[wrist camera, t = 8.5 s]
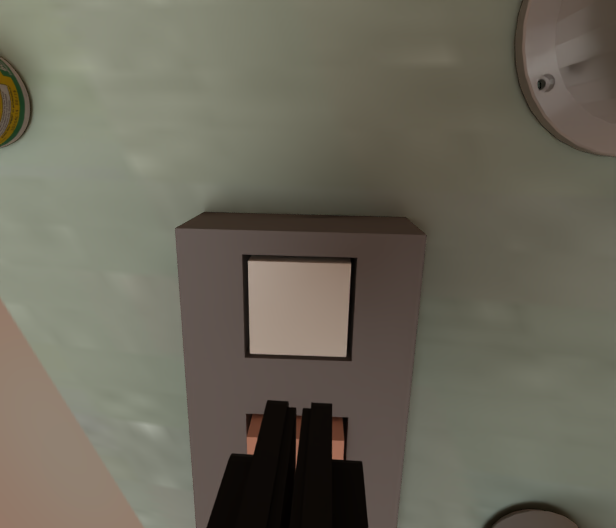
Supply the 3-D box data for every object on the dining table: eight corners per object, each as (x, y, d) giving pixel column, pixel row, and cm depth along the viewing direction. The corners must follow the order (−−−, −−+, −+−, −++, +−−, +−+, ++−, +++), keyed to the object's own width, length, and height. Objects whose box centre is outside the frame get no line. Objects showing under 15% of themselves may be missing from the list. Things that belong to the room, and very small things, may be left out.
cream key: (259, 242, 24) (247, 260, 20) (346, 244, 24) (351, 264, 20) (260, 321, 25) (249, 353, 21) (342, 324, 25) (346, 356, 21)
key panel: (203, 212, 24) (175, 228, 20) (405, 217, 24) (426, 235, 19) (220, 547, 32) (202, 618, 27) (376, 554, 31) (386, 628, 27)
